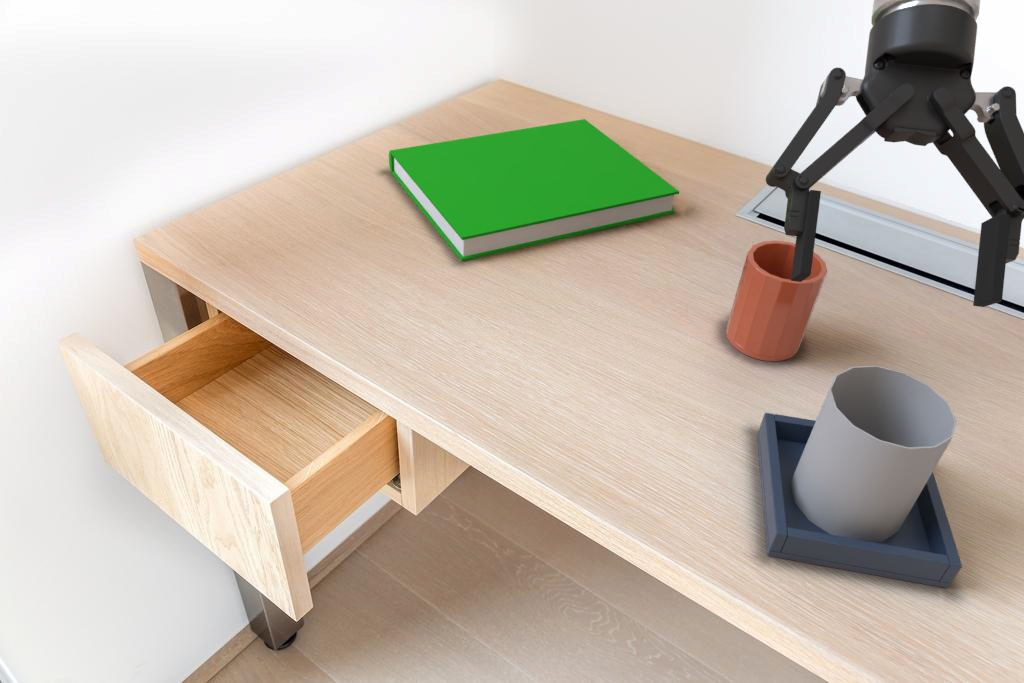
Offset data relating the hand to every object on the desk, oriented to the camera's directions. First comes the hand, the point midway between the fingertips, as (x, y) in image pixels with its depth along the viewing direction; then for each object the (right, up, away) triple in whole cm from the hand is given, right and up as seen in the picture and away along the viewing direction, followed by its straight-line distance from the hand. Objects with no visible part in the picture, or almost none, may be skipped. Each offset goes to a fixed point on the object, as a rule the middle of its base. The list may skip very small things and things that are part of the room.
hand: (892, 291), depth 60 cm
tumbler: (-4, -3, +18) cm, 19 cm away
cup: (-3, -16, +2) cm, 16 cm away
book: (-27, +15, +39) cm, 49 cm away
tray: (-3, -16, +2) cm, 17 cm away
